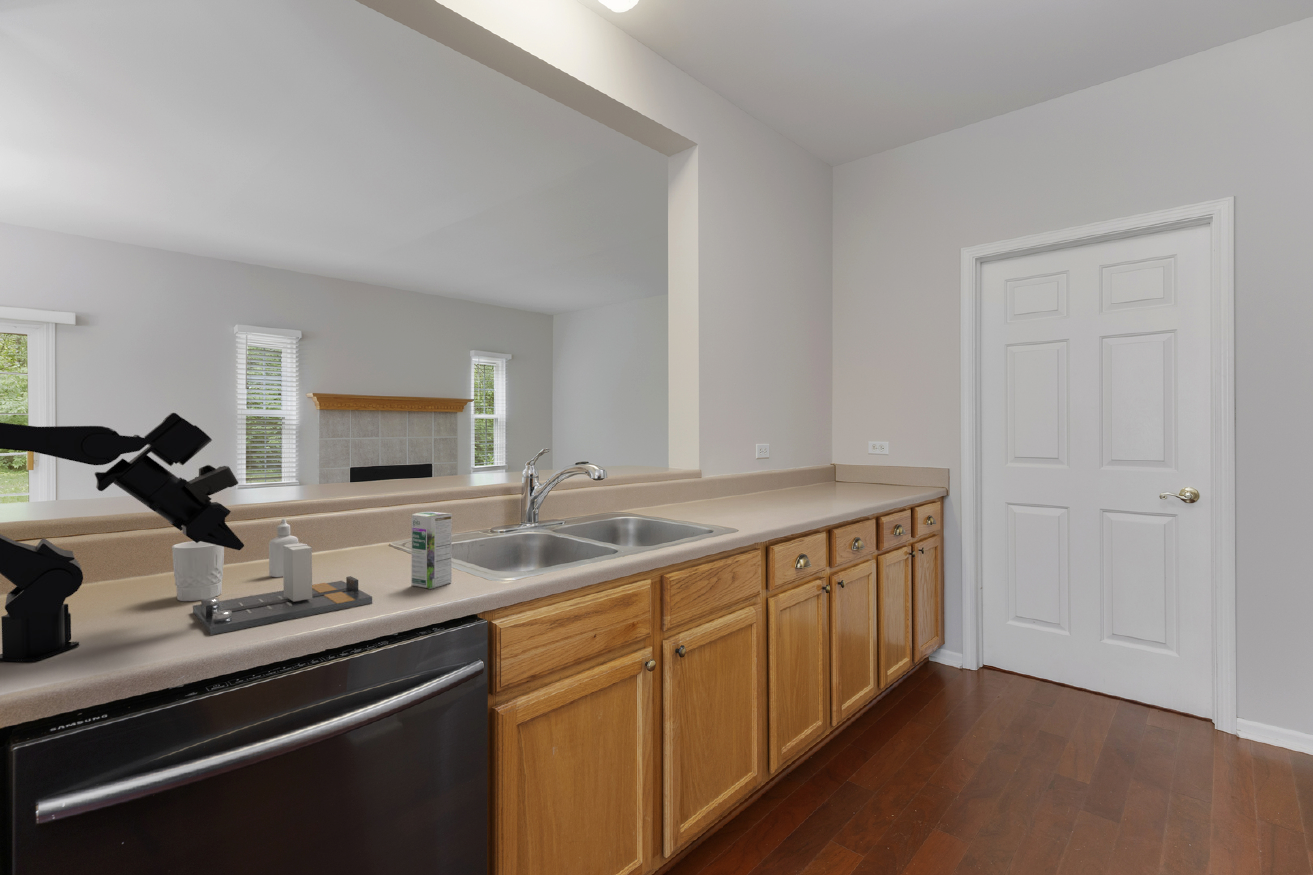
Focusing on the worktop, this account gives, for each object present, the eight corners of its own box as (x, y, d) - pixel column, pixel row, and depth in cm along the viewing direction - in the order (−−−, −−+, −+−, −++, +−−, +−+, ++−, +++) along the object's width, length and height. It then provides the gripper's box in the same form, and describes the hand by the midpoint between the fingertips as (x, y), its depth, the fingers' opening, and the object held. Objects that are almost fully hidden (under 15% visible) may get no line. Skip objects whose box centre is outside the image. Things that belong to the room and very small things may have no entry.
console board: (211, 635, 95) (210, 614, 95) (192, 612, 106) (192, 593, 106) (372, 603, 112) (372, 585, 112) (341, 586, 123) (341, 570, 123)
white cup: (197, 603, 112) (196, 548, 111) (161, 601, 113) (160, 546, 113) (235, 592, 119) (234, 540, 119) (201, 589, 121) (200, 538, 121)
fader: (292, 601, 107) (292, 548, 107) (283, 594, 112) (282, 544, 111) (312, 598, 110) (311, 546, 109) (302, 591, 114) (301, 541, 114)
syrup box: (410, 586, 124) (409, 513, 123) (433, 579, 129) (432, 510, 129) (430, 589, 121) (429, 515, 121) (453, 582, 126) (452, 512, 126)
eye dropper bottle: (268, 574, 133) (267, 519, 133) (298, 570, 136) (297, 516, 136) (269, 578, 130) (269, 521, 129) (300, 574, 133) (300, 519, 133)
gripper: (212, 451, 94) (295, 516, 102) (191, 448, 107) (265, 505, 115) (146, 508, 88) (239, 572, 96) (132, 497, 102) (215, 554, 110)
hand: (241, 547), depth 104 cm, fingers closed
